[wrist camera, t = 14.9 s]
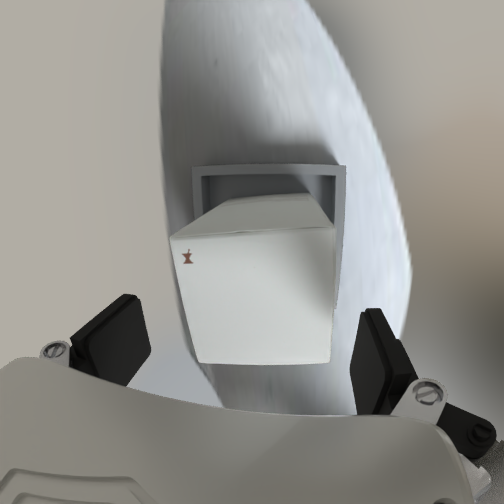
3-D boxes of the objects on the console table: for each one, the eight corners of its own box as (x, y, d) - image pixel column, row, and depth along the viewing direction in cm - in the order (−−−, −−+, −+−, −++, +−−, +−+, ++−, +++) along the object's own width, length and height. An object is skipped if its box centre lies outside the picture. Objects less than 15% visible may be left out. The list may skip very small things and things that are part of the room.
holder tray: (332, 293, 26) (336, 308, 23) (210, 288, 28) (201, 302, 25) (339, 165, 22) (346, 165, 19) (202, 165, 24) (191, 166, 21)
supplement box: (236, 276, 26) (192, 365, 14) (227, 196, 24) (163, 232, 12) (316, 273, 25) (331, 367, 13) (314, 191, 22) (337, 222, 10)
